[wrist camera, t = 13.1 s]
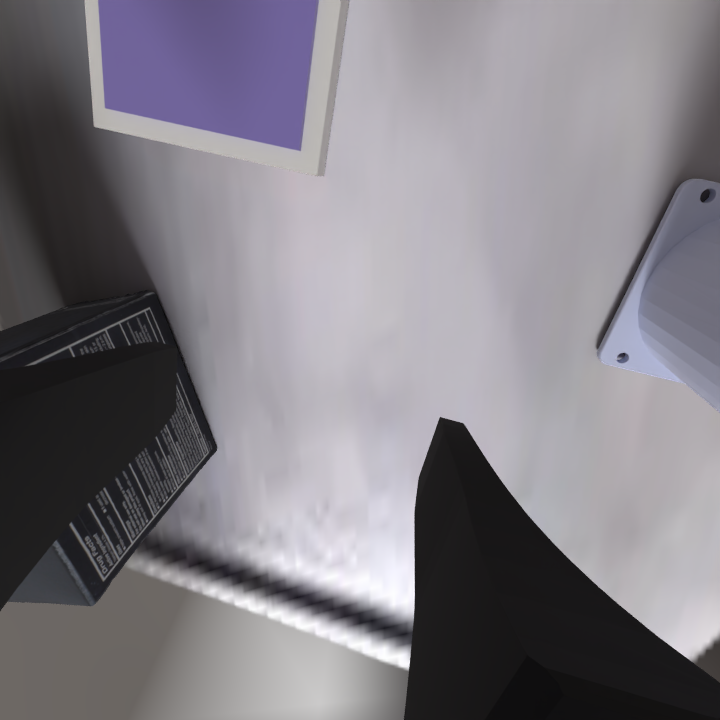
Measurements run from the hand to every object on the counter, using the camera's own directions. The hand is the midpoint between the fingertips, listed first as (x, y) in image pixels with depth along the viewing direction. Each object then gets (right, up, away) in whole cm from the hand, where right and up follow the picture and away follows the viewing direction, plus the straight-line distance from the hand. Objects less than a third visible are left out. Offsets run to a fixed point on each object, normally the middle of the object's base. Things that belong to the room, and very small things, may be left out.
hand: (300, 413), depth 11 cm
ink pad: (-4, +15, +6) cm, 16 cm away
